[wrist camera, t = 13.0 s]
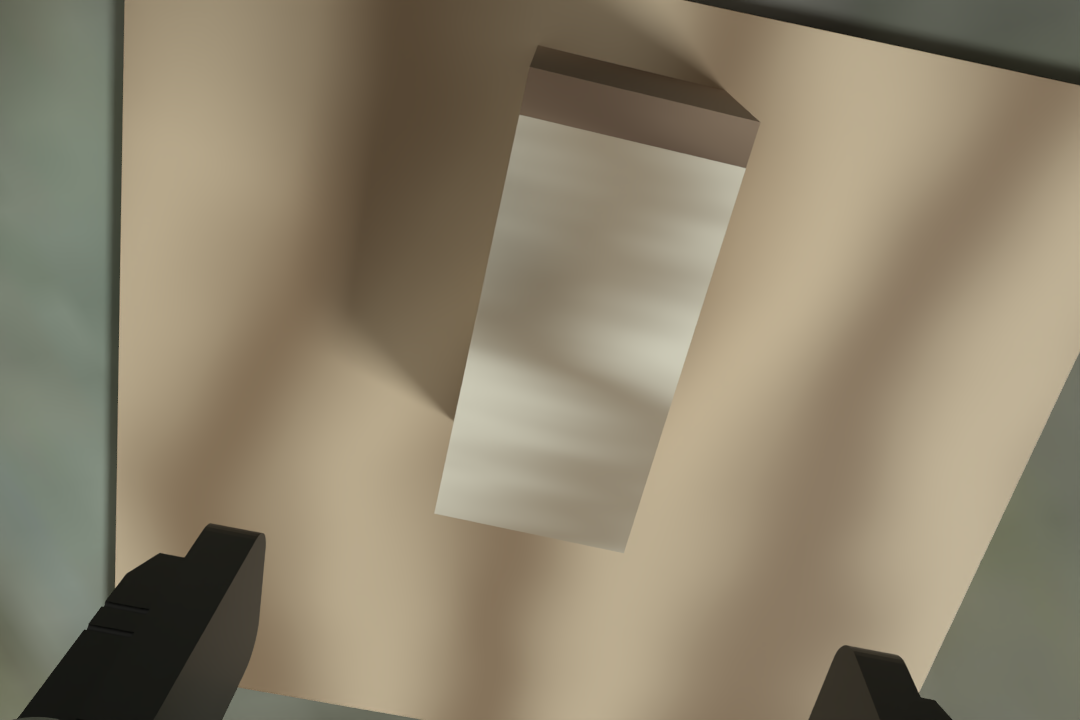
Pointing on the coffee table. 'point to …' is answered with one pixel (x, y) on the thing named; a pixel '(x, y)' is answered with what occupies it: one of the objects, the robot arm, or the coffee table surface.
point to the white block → (591, 295)
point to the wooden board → (702, 391)
